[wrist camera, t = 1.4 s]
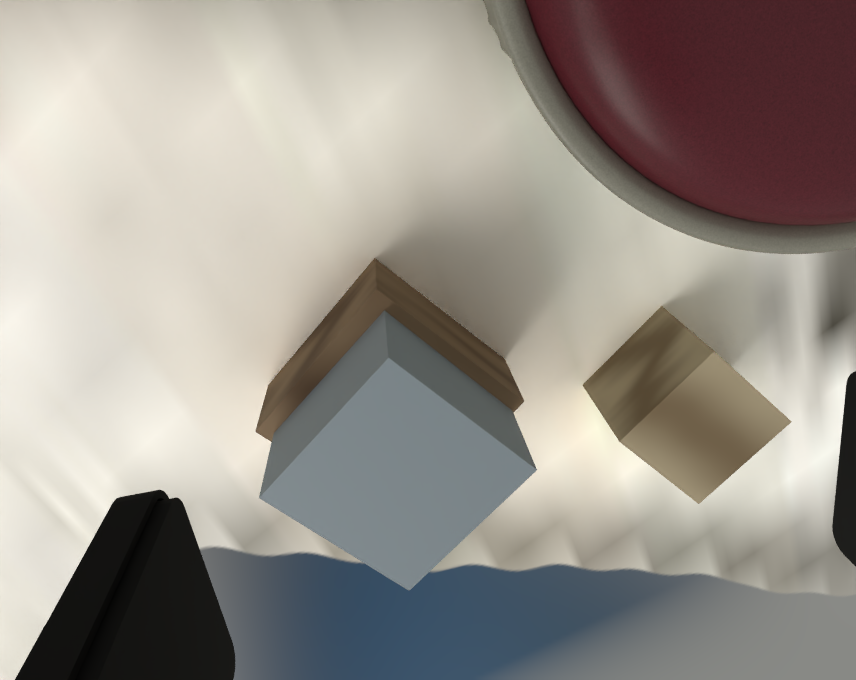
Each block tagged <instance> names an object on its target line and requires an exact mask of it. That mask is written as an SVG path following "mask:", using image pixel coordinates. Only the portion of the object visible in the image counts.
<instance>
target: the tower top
mask: <svg viewBox="0 0 856 680" xmlns="http://www.w3.org/2000/svg"><path fill="white" fill-rule="evenodd" d="M536 470H537V469H536V467H535V464H534V462H533V459H532V457H531V455H530V452H529V450H528V447H527V445H526V443H525V440H524V438H523V435H522V433H521V431H520V428H519V426H518V423H517V421H516V419H515V416H514V414H513V411H512V410H511V409H510V408H508V407H507V406H506V405H505V404H503V403H502V402H501V401H499V400H498V399H497V398H496V397H494V396H493V395H492V394H490V393H489V392H488V391H487V390H485V389H484V388H483V387H482V386H480V385H479V384H478V383H476V382H475V381H474V380H473V379H471V378H470V377H469V376H468V375H466V374H465V373H464V372H462V371H461V370H460V369H459V368H457V367H456V366H455V365H454V364H452V363H451V362H450V361H448V360H447V359H446V358H445V357H443V356H442V355H441V354H440V353H438V352H437V351H436V350H434V349H433V348H432V347H431V346H429V345H428V344H427V343H425V342H424V341H423V340H422V339H420V338H419V337H418V336H417V335H415V334H414V333H413V332H411V331H410V330H409V329H408V328H406V327H405V326H404V325H403V324H401V323H400V322H399V321H397V320H396V319H395V318H394V317H392V316H391V315H390V314H389V313H387V312H386V311H385V310H384V311H383V312H382V314H381V315H380V316H379V317H378V318H377V319H376V320H375V321H374V322H373V324H372V325H371V326H370V327H369V328H368V329H367V330H366V331H365V332H364V334H363V335H362V336H361V337H360V338H359V339H358V340H357V341H356V342H355V344H354V345H353V346H352V347H351V348H350V349H349V350H348V351H347V352H346V354H345V355H344V356H343V357H342V358H341V359H340V360H339V361H338V362H337V364H336V365H335V366H334V367H333V368H332V369H331V370H330V371H329V372H328V374H327V375H326V376H325V377H324V378H323V379H322V380H321V381H320V382H319V384H318V385H317V386H316V387H315V388H314V389H313V390H312V391H311V392H310V393H309V395H308V396H307V397H306V398H305V399H304V400H303V401H302V402H301V403H300V405H299V406H298V407H297V408H296V409H295V410H294V411H293V412H292V413H291V415H290V416H289V417H288V418H287V419H286V420H285V421H284V422H283V423H282V425H281V426H280V427H279V428H278V429H277V430H276V431H275V432H274V434H273V439H272V443H271V448H270V452H269V456H268V461H267V465H266V470H265V474H264V478H263V483H262V487H261V492H260V496H259V498H260V499H262V500H263V501H265V502H266V503H268V504H270V505H271V506H273V507H275V508H276V509H278V510H279V511H281V512H283V513H284V514H286V515H288V516H289V517H291V518H292V519H294V520H296V521H297V522H299V523H300V524H302V525H304V526H305V527H307V528H309V529H310V530H312V531H313V532H315V533H317V534H318V535H320V536H321V537H323V538H325V539H326V540H328V541H330V542H331V543H333V544H334V545H336V546H338V547H339V548H341V549H342V550H344V551H346V552H347V553H349V554H351V555H352V556H354V557H355V558H357V559H359V560H360V561H362V562H364V563H365V564H367V565H368V566H370V567H372V568H373V569H375V570H376V571H378V572H380V573H381V574H383V575H385V576H386V577H388V578H389V579H391V580H393V581H395V582H396V583H397V584H399V585H401V586H402V587H404V588H406V589H407V590H410V589H411V588H413V587H414V586H415V585H416V584H417V583H418V582H419V581H420V580H421V579H422V578H423V577H424V576H425V575H426V574H427V573H428V572H429V571H431V570H432V569H433V568H434V567H435V566H436V565H437V564H438V563H439V562H440V561H441V560H442V559H443V558H444V557H445V556H446V555H447V554H448V553H450V552H451V551H452V550H453V549H454V548H455V547H456V546H457V545H458V544H459V543H460V542H461V541H462V540H463V539H464V538H465V537H466V536H468V535H469V534H470V533H471V532H472V531H473V530H474V529H475V528H476V527H477V526H478V525H479V524H480V523H481V522H482V521H483V520H484V519H486V518H487V517H488V516H489V515H490V514H491V513H492V512H493V511H494V510H495V509H496V508H497V507H498V506H499V505H500V504H501V503H502V502H504V501H505V500H506V499H507V498H508V497H509V496H510V495H511V494H512V493H513V492H514V491H515V490H516V489H517V488H518V487H519V486H520V485H522V484H523V483H524V482H525V481H526V480H527V479H528V478H529V477H530V476H531V475H532V474H533V473H534V472H535V471H536Z"/></svg>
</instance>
